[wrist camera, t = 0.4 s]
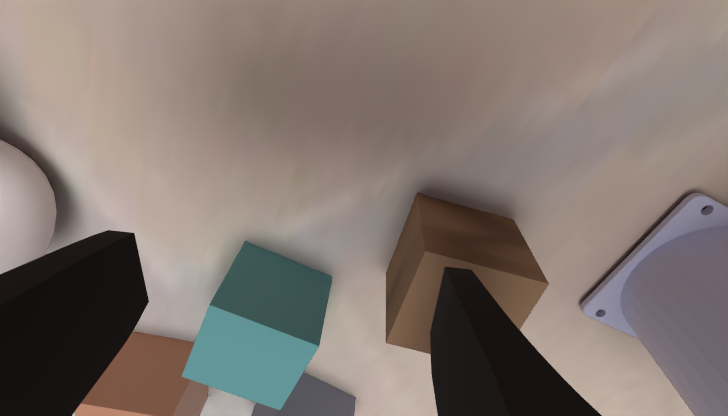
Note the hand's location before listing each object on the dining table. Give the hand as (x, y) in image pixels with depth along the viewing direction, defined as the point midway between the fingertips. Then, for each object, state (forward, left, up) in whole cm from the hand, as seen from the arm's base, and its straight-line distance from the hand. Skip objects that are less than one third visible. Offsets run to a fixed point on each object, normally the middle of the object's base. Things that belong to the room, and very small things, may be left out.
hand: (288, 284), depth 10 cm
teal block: (0, +10, -10) cm, 14 cm away
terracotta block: (+4, +19, -10) cm, 22 cm away
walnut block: (-7, +3, -10) cm, 13 cm away
